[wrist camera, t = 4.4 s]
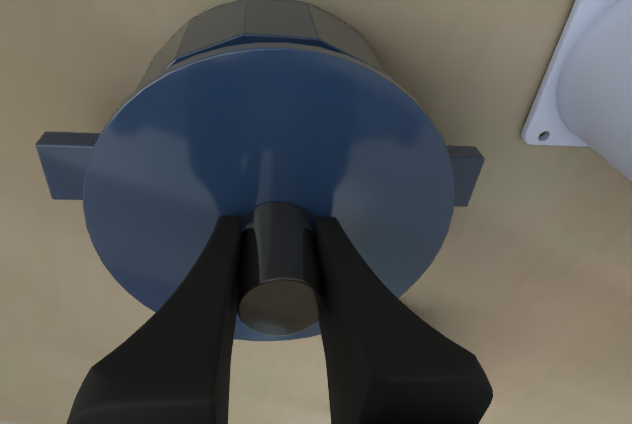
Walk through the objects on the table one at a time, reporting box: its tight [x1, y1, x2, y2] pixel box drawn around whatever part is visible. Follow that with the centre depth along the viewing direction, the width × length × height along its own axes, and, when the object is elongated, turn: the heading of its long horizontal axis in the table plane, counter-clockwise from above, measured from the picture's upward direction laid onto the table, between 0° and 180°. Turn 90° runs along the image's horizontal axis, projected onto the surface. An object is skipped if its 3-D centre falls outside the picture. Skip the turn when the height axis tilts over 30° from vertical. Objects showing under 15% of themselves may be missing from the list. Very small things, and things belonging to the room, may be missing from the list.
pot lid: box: [83, 43, 455, 341], centre depth 14 cm, size 12×12×4 cm
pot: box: [36, 0, 485, 207], centre depth 19 cm, size 11×17×5 cm
